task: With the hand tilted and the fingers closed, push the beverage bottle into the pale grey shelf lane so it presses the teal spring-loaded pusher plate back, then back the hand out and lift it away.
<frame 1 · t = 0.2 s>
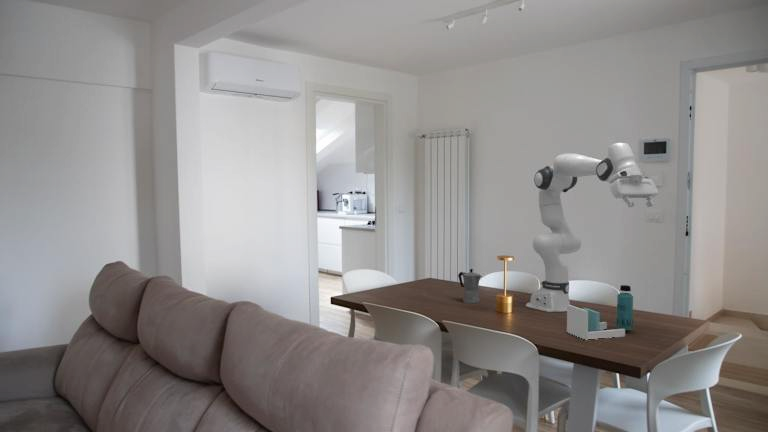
hand: (641, 206, 213), 54 cm above the table, tool tilted 30°, fingers open, 8 cm apart
lane: (596, 334, 223), on the table
beverage bottle: (624, 332, 227), on the table
pusher: (590, 322, 222), point 6 cm above the table, slide at 0.0 cm
coffeepot: (469, 301, 289), on the table
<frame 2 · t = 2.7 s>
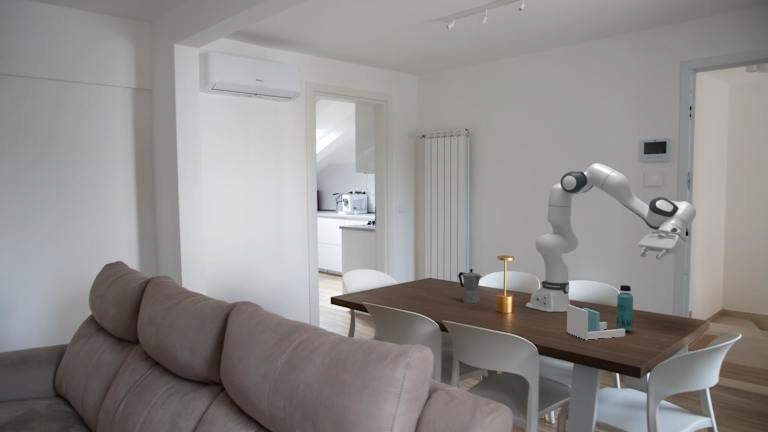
hand: (649, 257, 227), 32 cm above the table, tool tilted 45°, fingers open, 8 cm apart
nothing on the table moved.
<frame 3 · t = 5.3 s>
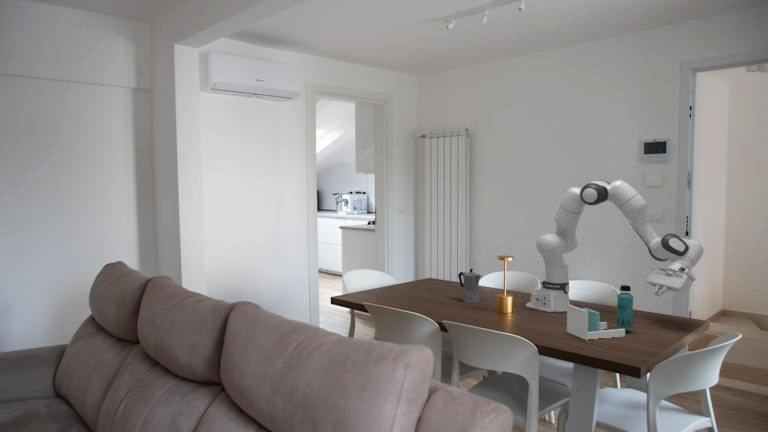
hand: (657, 295, 230), 15 cm above the table, tool tilted 45°, fingers closed
nothing on the table moved.
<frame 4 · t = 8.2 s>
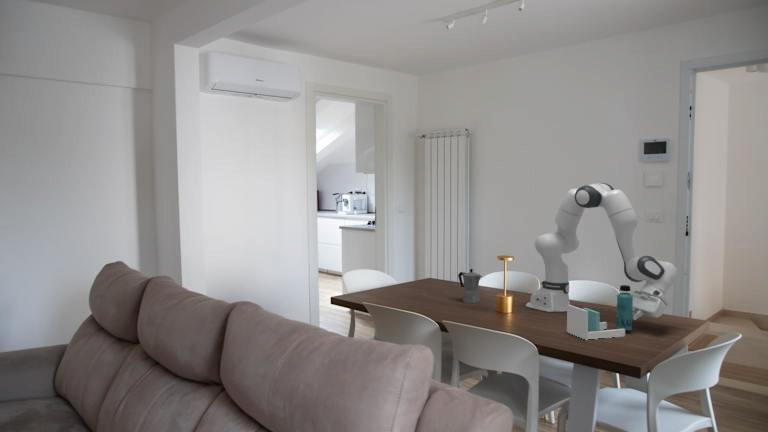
hand: (631, 318, 227), 5 cm above the table, tool tilted 45°, fingers closed, pressing on beverage bottle
beverage bottle: (624, 332, 227), on the table, touching gripper
everything else where it was.
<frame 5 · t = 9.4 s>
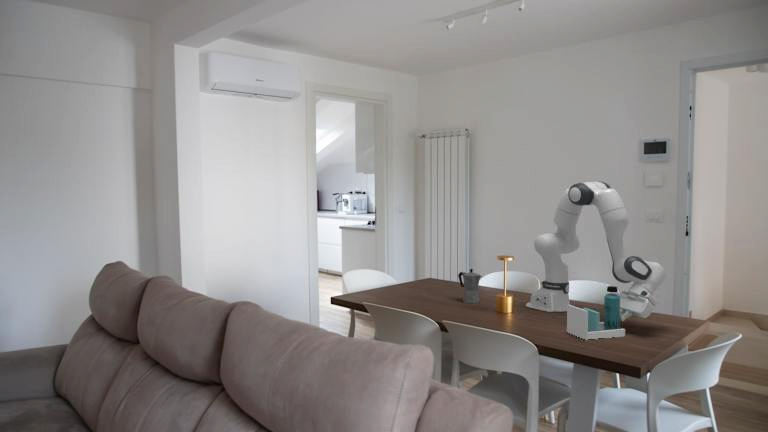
hand: (619, 319, 225), 5 cm above the table, tool tilted 45°, fingers closed, pressing on beverage bottle
beverage bottle: (612, 333, 225), on the table, touching gripper
everything else where it was.
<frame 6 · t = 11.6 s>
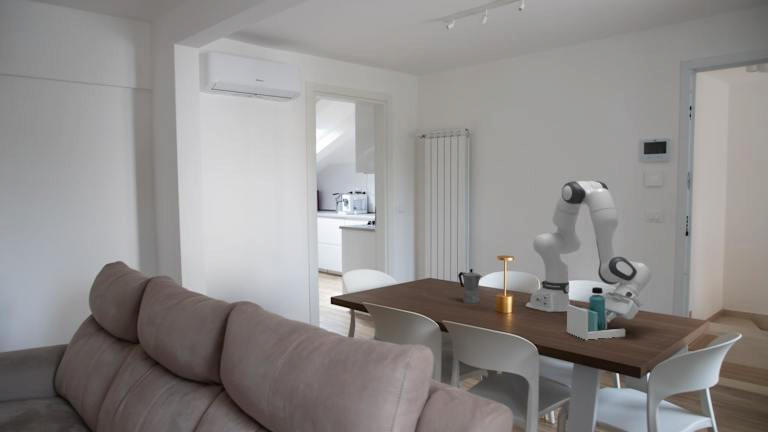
hand: (604, 320, 223), 6 cm above the table, tool tilted 45°, fingers closed, pressing on beverage bottle
beverage bottle: (597, 335, 222), on the table, touching gripper, pusher
pusher: (588, 322, 222), point 5 cm above the table, slide at 1.0 cm, touching beverage bottle
everything else where it was.
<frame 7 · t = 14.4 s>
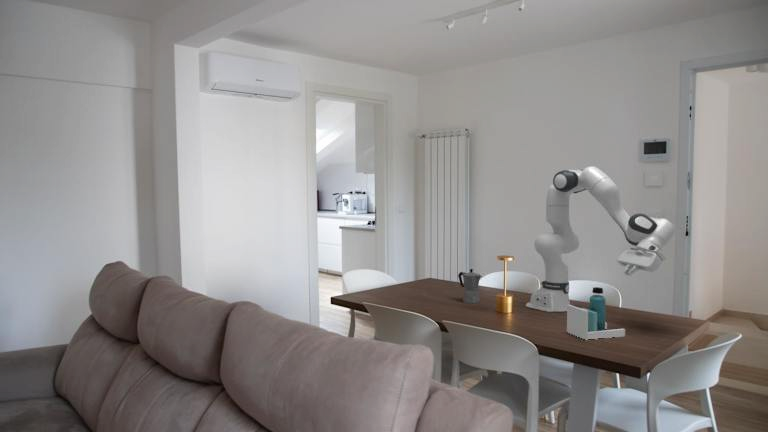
hand: (627, 274, 226), 25 cm above the table, tool tilted 45°, fingers closed
beverage bottle: (596, 335, 223), on the table
pusher: (588, 322, 222), point 6 cm above the table, slide at 1.1 cm
everything else where it was.
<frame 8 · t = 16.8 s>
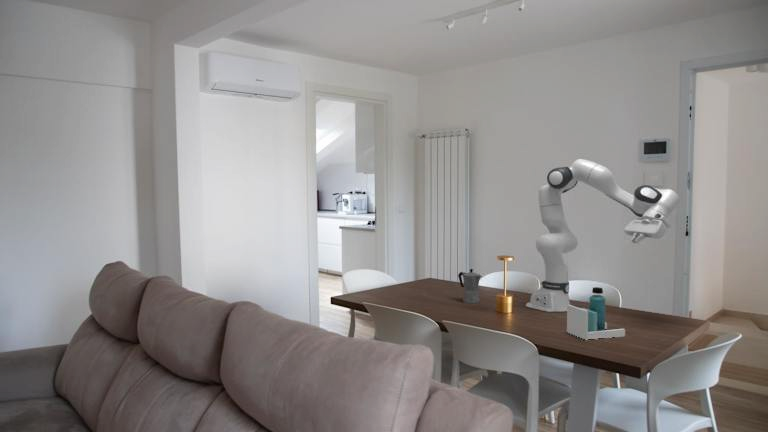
hand: (634, 242, 235), 37 cm above the table, tool tilted 45°, fingers closed
nothing on the table moved.
at the end: beverage bottle inside the target area on the lane (0.7 cm from its centre), point 0.0 cm above the lane's base; beverage bottle tilted 0°; pusher slide at 1.1 cm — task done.
